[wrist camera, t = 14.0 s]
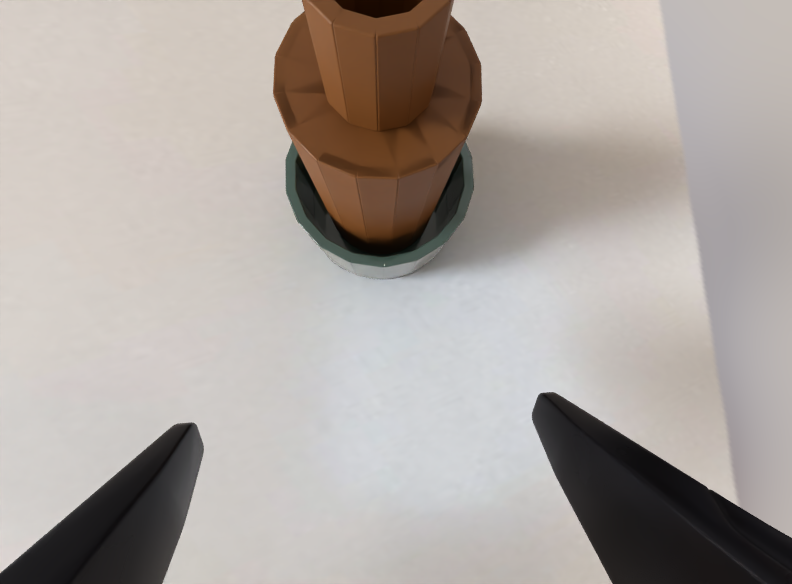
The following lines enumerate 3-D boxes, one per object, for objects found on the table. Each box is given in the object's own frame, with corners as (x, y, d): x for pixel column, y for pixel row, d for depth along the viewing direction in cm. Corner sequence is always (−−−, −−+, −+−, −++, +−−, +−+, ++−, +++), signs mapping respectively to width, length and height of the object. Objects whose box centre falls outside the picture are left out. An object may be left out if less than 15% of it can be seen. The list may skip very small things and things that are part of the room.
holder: (470, 164, 20) (495, 118, 16) (428, 299, 19) (442, 292, 15) (336, 120, 20) (322, 60, 15) (287, 253, 19) (257, 232, 14)
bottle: (450, 207, 19) (591, -30, 6) (380, 275, 19) (373, 169, 6) (382, 139, 19) (380, -227, 6) (310, 204, 19) (150, -55, 6)
